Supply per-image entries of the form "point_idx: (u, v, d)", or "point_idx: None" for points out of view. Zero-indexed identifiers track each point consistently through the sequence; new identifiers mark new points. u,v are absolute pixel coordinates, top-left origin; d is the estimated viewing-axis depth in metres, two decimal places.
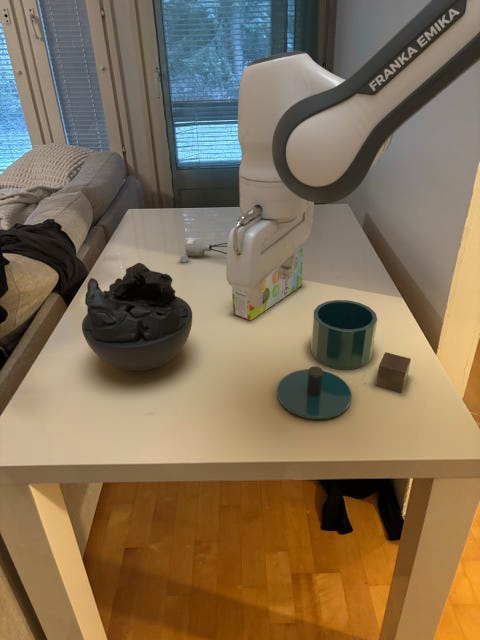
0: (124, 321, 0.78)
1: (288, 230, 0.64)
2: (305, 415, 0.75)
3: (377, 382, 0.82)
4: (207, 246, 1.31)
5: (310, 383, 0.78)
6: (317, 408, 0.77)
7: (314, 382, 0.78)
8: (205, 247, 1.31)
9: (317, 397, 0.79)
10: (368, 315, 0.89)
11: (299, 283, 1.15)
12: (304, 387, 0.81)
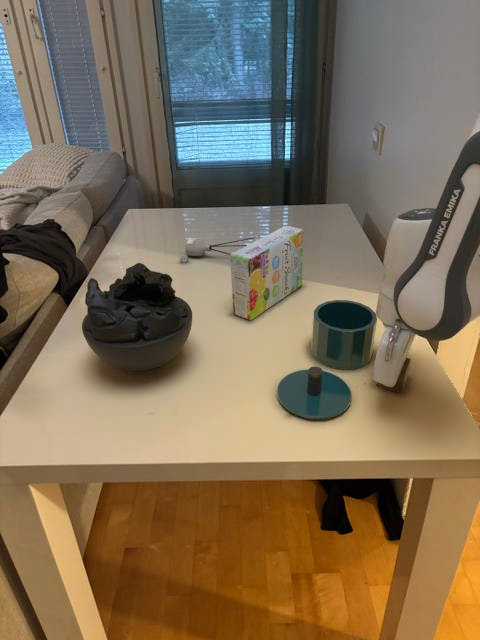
0: (124, 321, 0.78)
1: None
2: (305, 415, 0.75)
3: (377, 382, 0.82)
4: (207, 246, 1.31)
5: (310, 383, 0.78)
6: (317, 408, 0.77)
7: (314, 382, 0.78)
8: (205, 247, 1.31)
9: (317, 397, 0.79)
10: (368, 315, 0.89)
11: (299, 283, 1.15)
12: (304, 387, 0.81)
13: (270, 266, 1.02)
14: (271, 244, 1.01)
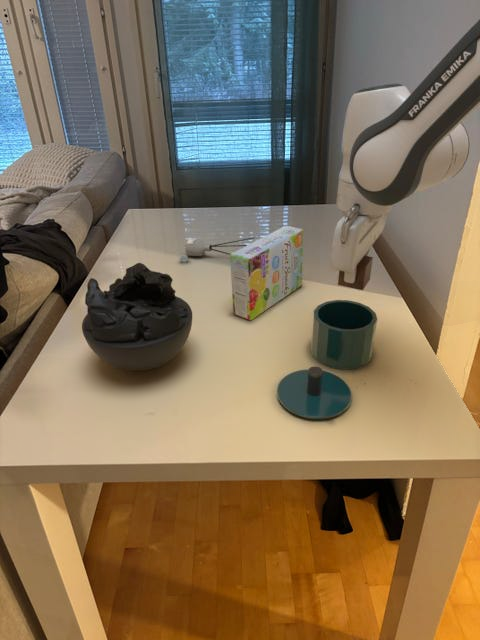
0: (124, 321, 0.78)
1: (373, 224, 0.78)
2: (305, 415, 0.75)
3: (339, 281, 0.81)
4: (207, 246, 1.31)
5: (310, 383, 0.78)
6: (317, 408, 0.77)
7: (314, 382, 0.78)
8: (205, 247, 1.31)
9: (317, 397, 0.79)
10: (368, 315, 0.89)
11: (299, 283, 1.15)
12: (304, 387, 0.81)
13: (270, 266, 1.02)
14: (271, 244, 1.01)
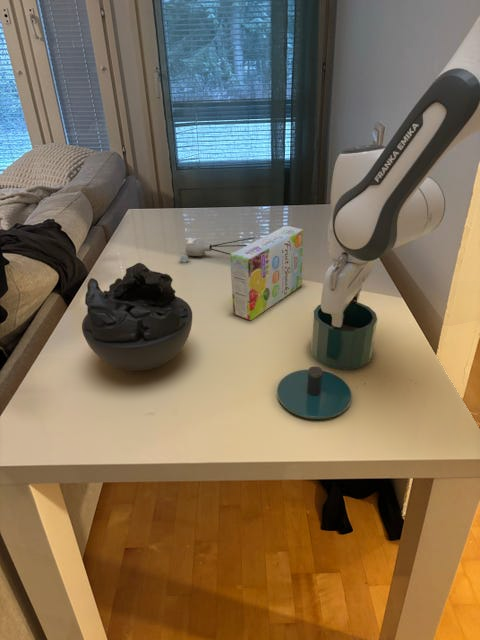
0: (124, 321, 0.78)
1: (361, 268, 0.83)
2: (305, 415, 0.75)
3: None
4: (207, 246, 1.31)
5: (310, 383, 0.78)
6: (317, 408, 0.77)
7: (314, 382, 0.78)
8: (205, 247, 1.31)
9: (317, 397, 0.79)
10: (368, 315, 0.89)
11: (299, 283, 1.15)
12: (304, 387, 0.81)
13: (270, 266, 1.02)
14: (271, 244, 1.01)
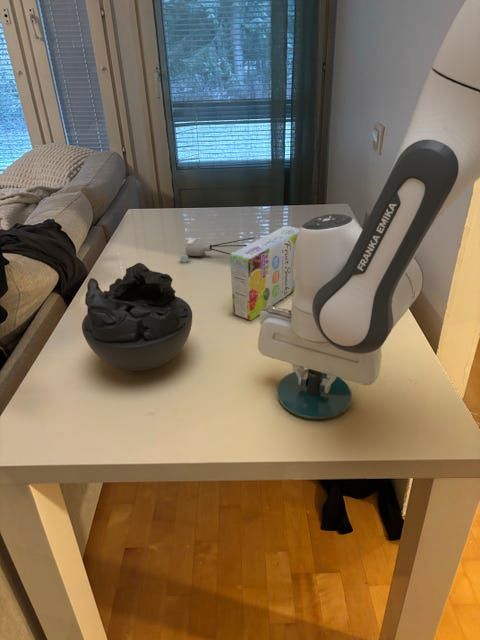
0: (124, 321, 0.78)
1: (324, 352, 0.73)
2: (305, 415, 0.75)
3: None
4: (207, 246, 1.31)
5: (310, 383, 0.78)
6: (317, 408, 0.77)
7: (314, 382, 0.78)
8: (205, 247, 1.31)
9: (317, 397, 0.79)
10: None
11: None
12: (304, 387, 0.81)
13: (269, 266, 1.02)
14: (271, 244, 1.01)
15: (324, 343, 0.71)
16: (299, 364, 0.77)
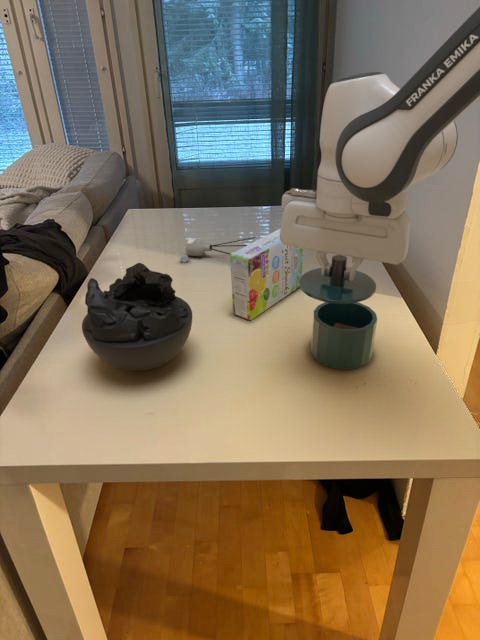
0: (124, 321, 0.78)
1: (351, 231, 0.71)
2: (330, 300, 0.73)
3: None
4: (207, 246, 1.31)
5: (334, 271, 0.76)
6: (342, 295, 0.74)
7: (339, 269, 0.75)
8: (205, 247, 1.31)
9: (341, 287, 0.76)
10: (368, 315, 0.89)
11: None
12: (326, 279, 0.79)
13: (269, 266, 1.02)
14: (271, 244, 1.01)
15: (351, 218, 0.69)
16: (323, 249, 0.74)
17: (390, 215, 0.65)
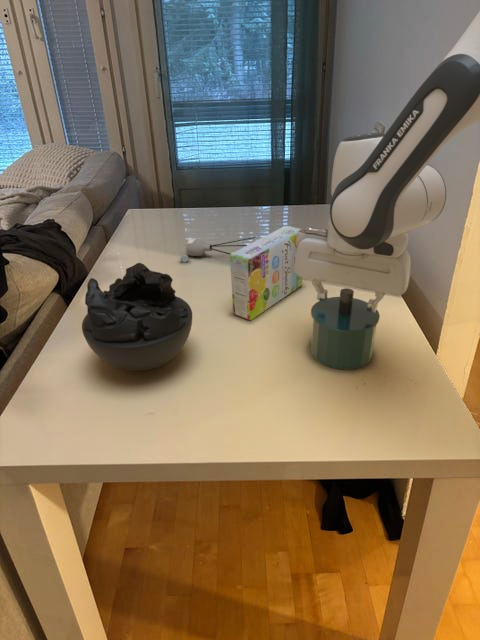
0: (124, 321, 0.78)
1: (358, 266, 0.80)
2: (339, 329, 0.82)
3: None
4: (207, 246, 1.31)
5: (342, 302, 0.85)
6: (349, 324, 0.84)
7: (346, 301, 0.85)
8: (205, 247, 1.31)
9: (348, 316, 0.86)
10: None
11: (299, 283, 1.15)
12: (335, 309, 0.88)
13: (269, 266, 1.02)
14: (271, 244, 1.01)
15: (358, 256, 0.78)
16: (333, 281, 0.83)
17: (392, 255, 0.74)
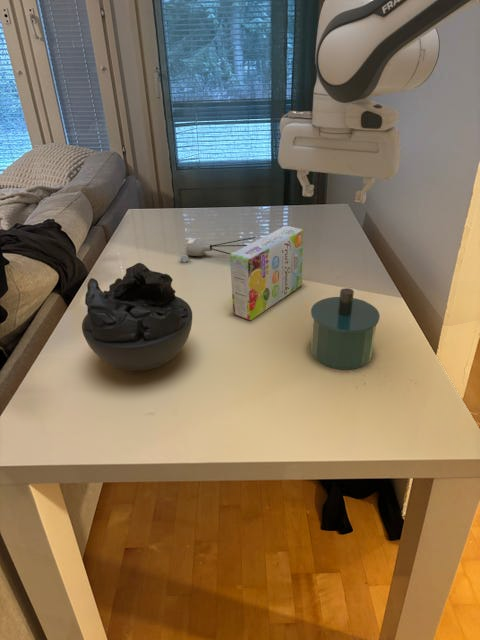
0: (124, 321, 0.78)
1: (345, 148, 0.75)
2: (339, 329, 0.82)
3: None
4: (208, 246, 1.31)
5: (342, 302, 0.85)
6: (349, 324, 0.84)
7: (346, 301, 0.85)
8: (206, 247, 1.31)
9: (348, 316, 0.86)
10: None
11: (299, 283, 1.15)
12: (335, 309, 0.88)
13: (269, 266, 1.02)
14: (271, 244, 1.01)
15: (345, 134, 0.73)
16: (319, 169, 0.78)
17: (381, 127, 0.69)
